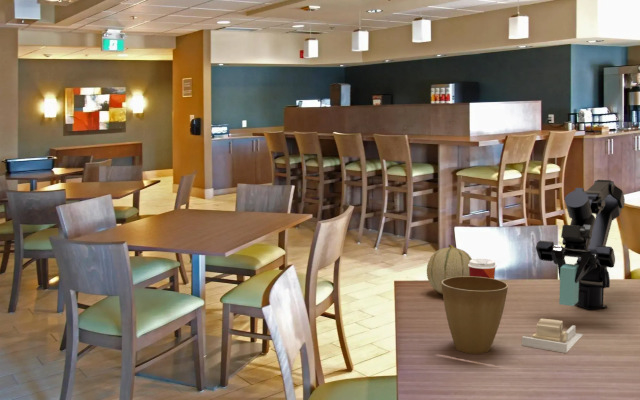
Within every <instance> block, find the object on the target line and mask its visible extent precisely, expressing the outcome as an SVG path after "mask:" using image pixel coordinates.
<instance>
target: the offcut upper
mask: <svg viewBox="0 0 640 400" xmlns="http://www.w3.org/2000/svg"><path fill="white" fill-rule="evenodd" d="M563 323H564V322H563V320H558V319H549V318H548V319H547V318H540V319H539V320H538V322H537V323H536V327H535V328H536V331H535V332H536V336H543V337H551V338H559V337H560V335H561V333H562V331H564V330H563V327H564V326H563Z"/></svg>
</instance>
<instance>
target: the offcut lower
mask: <svg viewBox="0 0 640 400" xmlns="http://www.w3.org/2000/svg"><path fill="white" fill-rule="evenodd" d="M566 331H567V330H562V333H561V335H560V337H559V338H551V337H543V336H536V331H535V332H534V333H533V334H532V335H531V337H532V338H537V339H543V340H549V341H555V342H561V343H566Z"/></svg>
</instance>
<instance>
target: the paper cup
mask: <svg viewBox="0 0 640 400" xmlns="http://www.w3.org/2000/svg"><path fill="white" fill-rule="evenodd" d="M468 266H469V274H470V276H474V277H486V278H492V279H495V277H496V276H495V274H496V268H497V265H496V262H495V260H493V259H487V258H472V260H470V262H469V264H468Z"/></svg>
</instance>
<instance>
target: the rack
mask: <svg viewBox="0 0 640 400" xmlns="http://www.w3.org/2000/svg"><path fill="white" fill-rule="evenodd" d="M576 328H577V326H576V325H571V326H570V327H569V328H568V329H567V330H565V331H566V343H561V342H555V341H549V340H543V339H537V338H532V336H531V337H530V336H524V335H523V336H522V337H521V346H523V347H528V348H534V349H541V350H546V351H552V352H557V353H563V354H567V352H569V350H571V349H572V347H573V346H574V345H575V344H576V343H577V342H578V340H580V338H582V337H583V335H584V334H583V333H577V332H576V330H577V329H576Z"/></svg>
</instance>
